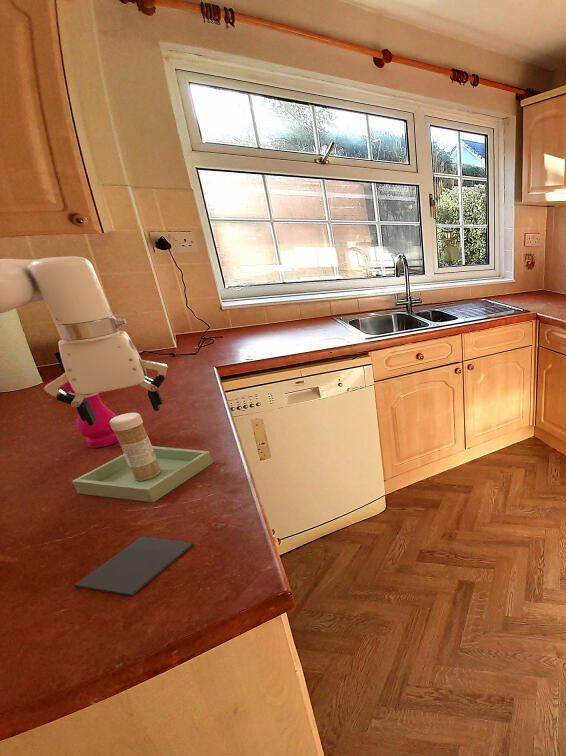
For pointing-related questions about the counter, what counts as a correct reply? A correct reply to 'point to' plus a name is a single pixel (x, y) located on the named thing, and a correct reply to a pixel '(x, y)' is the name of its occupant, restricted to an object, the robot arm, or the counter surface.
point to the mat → (134, 566)
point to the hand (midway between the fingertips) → (126, 415)
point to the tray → (121, 484)
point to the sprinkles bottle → (136, 446)
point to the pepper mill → (101, 430)
